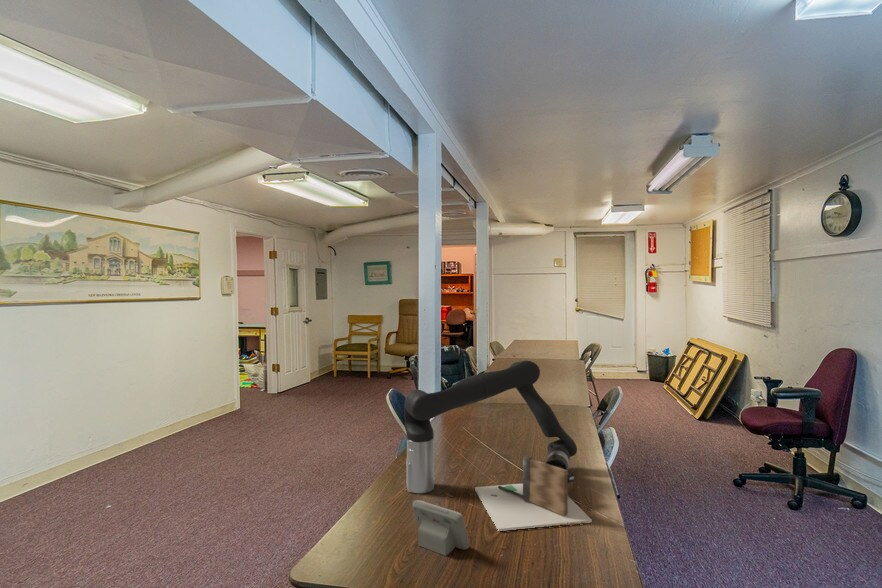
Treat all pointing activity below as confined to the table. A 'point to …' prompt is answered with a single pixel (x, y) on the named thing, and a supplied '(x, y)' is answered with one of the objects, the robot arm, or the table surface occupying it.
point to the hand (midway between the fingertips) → (550, 485)
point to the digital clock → (440, 528)
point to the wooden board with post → (544, 485)
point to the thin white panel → (523, 509)
